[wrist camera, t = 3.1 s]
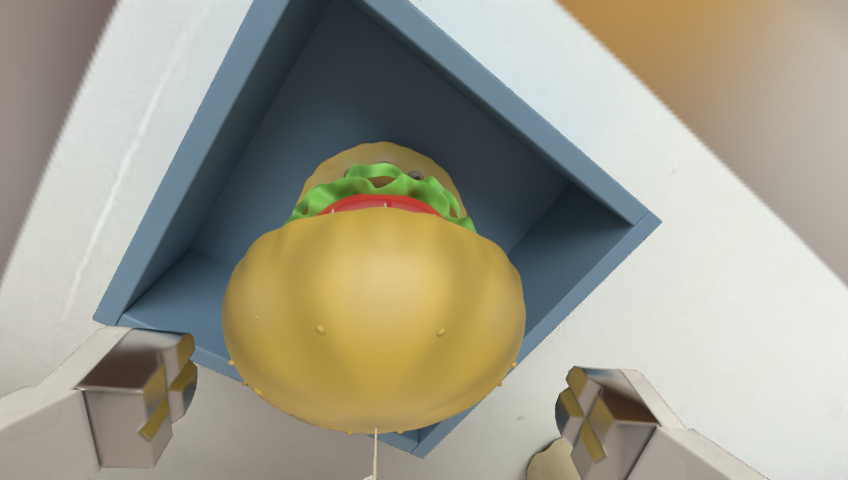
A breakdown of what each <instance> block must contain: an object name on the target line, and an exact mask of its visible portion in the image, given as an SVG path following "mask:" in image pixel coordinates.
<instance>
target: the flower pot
mask: <svg viewBox="0 0 848 480" xmlns="http://www.w3.org/2000/svg"><path fill="white" fill-rule="evenodd" d="M571 450H572V446H571V445H570V444H569V443H568V442H567V441H566V440H564V439H563V438H560V439H557V440H555V441H554V442H553V443H552V445H551V446H550V447H549V448H548V449H547V450H546V451H544V452H541V453H537V454H536V455H535V456H534V457H533V459H532V460H531V462H530V464H529V467H528V471H527V479H528V480H581V478H580V476H579V474H578V472H577V469H576V467H575V465H574V463H573V461H572V459H571V456H570V454H571Z"/></svg>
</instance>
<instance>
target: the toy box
mask: <svg viewBox="0 0 848 480" xmlns="http://www.w3.org/2000/svg"><path fill="white" fill-rule="evenodd" d="M382 141H389V142H393V143H395V144H397V145H400V146H404V147H408V148H410V149H412V150H414V151H416V152H418V153H420V154H422V155H426V156H429V157H430V158H432V159H433V160H434V162H435V163H436V164H437V165H439V166H440V167H442V168H443V169H444V170H446V171H447V173H448V174H449V175H450V177H451V179H452V181H453V184H454V186H455V187H456V188H457V190H458V192H459V195H460V198H461V201H462V204H463V206H464V208H465V209H466V211H467V216H469V217H470V218H471V220H472V223H473V225H474V228H475V230H476V232H477V234H478V235H480V236H482V237H484V238H486V239H489V240H491V241H492V242H494V243H496V244H497V245H498V246H500V247H501V248H502V249H503V250H504V252H505V253H506V255H507V257H508V259H509V261H510V262H511V263H512V264H513V265H514V267H515V268H516V269H517V271H518V273H519V275H520V278H521V283H522V288H523V299H524V303H525V308H526V320H525V331H524V336H523V340H522V343H521V346H520V349H519V352H518V355H517V357H516V360H515V362H516V363H517V365H518V364H519V363H520V362H521V361H522V360H523V359H524V358H525V357H526V356H527V355H528V354H529V353H530V352H531V351H532V350H533V349H534V348H535V347H536V346H537V345H538V344H540V343H541V342H542V341H543V340H544V339H545V338H546V337H547V336H548V335H549V334H550V333H551V332H552V331H553V330H554V329H555V328H556V327H557V326H558V325H559V324H560V323H561V322H562V321H563V320H564V319H565V318H566V317H567V316H568V315H569V314H570V313H571V312H572V311H573V310H574V309H575V308H576V307H577V306H578V305H579V304H580V303H581V302H582V301H583V300H584V299H585V298H586V297H587V296H588V295H589V294H590V293H591V292H592V291H593V290H594V289H595V288H596V287H597V286H598V285H599V284H600V283H601V282H602V281H603V280H604V279H605V278H606V277H607V276H608V275H609V274H610V273H611V272H612V271H613V270H614V269H615V268H616V267H617V266H618V265H619V264H620V263H621V262H623V261H624V260H625V259H626V258H627V257H628V256H629V255H630V254H631V253H632V252H633V251H634V250H635V249H636V248H637V247H638V246H639V245H640V244H641V243H642V242H643V241H644V240H645V239H646V238H647V237H648V236H649V235H650V234H651V233H652V232H653V231H654V230H655V229H656V228H657V227H658V226H659V225H660V224H661V223H662V221H661V220H660V219H659V218H658V217H657V216H656V215H654V214H653V213H652V212H651V211H649V210H648V209H647V208H646V207H645V206H644V205H643V204H642V203H640V202H639V201H638V200H637V199H636V198H635V197H634V196H632V195H631V194H630V193H629V192H628V191H627V190H626V189H624V188H623V187H622V186H621V185H620V184H619V183H617V182H616V181H615V180H614V179H613V178H612V177H611V176H609V175H608V174H607V173H606V172H605V171H604V170H603V169H601V168H600V167H599V166H598V165H597V164H596V163H594V162H593V161H592V160H591V159H590V158H589V157H588V156H586V155H585V154H584V153H583V152H582V151H581V150H580V149H578V148H577V147H576V146H575V145H574V144H573V143H571V142H570V141H569V140H568V139H567V138H566V137H565V136H563V135H562V134H561V133H560V132H559V131H558V130H557V129H555V128H554V127H553V126H552V125H551V124H550V123H548V122H547V121H546V120H545V119H544V118H543V117H542V116H540V115H539V114H538V113H537V112H536V111H535V110H534V109H532V108H531V107H530V106H529V105H528V104H527V103H525V102H524V101H523V100H522V99H521V98H520V97H519V96H517V95H516V94H515V93H514V92H513V91H512V90H511V89H509V88H508V87H507V86H506V85H505V84H504V83H502V82H501V81H500V80H499V79H498V78H497V77H496V76H494V75H493V74H492V73H491V72H490V71H489V70H487V69H486V68H485V67H484V66H483V65H482V64H481V63H479V62H478V61H477V60H476V59H475V58H474V57H473V56H471V55H470V54H469V53H468V52H467V51H466V50H464V49H463V48H462V47H461V46H460V45H459V44H458V43H456V42H455V41H454V40H453V39H452V38H451V37H450V36H448V35H447V34H446V33H445V32H444V31H443V30H441V29H440V28H439V27H438V26H437V25H436V24H435V23H433V22H432V21H431V20H430V19H429V18H428V17H427V16H425V15H424V14H423V13H422V12H421V11H420V10H418V9H417V8H416V7H415V6H414V5H413V4H412V3H410V2H409V1H408V0H254V1H253V3H252V5H251V7H250V9H249V10H248V12H247V14H246V16H245V18H244V20H243V22H242V24H241V26H240V28H239V30H238V32H237V34H236V36H235V38H234V40H233V42H232V44H231V46H230V48H229V50H228V52H227V54H226V56H225V58H224V60H223V62H222V64H221V66H220V68H219V70H218V72H217V74H216V75H215V77H214V79H213V81H212V83H211V85H210V87H209V89H208V91H207V93H206V95H205V97H204V99H203V101H202V103H201V105H200V107H199V109H198V111H197V113H196V115H195V117H194V119H193V121H192V123H191V125H190V127H189V129H188V131H187V133H186V135H185V137H184V139H183V140H182V142H181V144H180V146H179V148H178V150H177V152H176V154H175V156H174V158H173V160H172V162H171V164H170V166H169V168H168V170H167V172H166V174H165V176H164V178H163V180H162V182H161V184H160V186H159V188H158V190H157V192H156V194H155V196H154V198H153V200H152V202H151V204H150V205H149V207H148V209H147V211H146V213H145V215H144V217H143V219H142V221H141V223H140V225H139V227H138V229H137V231H136V233H135V235H134V237H133V239H132V241H131V243H130V245H129V247H128V249H127V251H126V253H125V255H124V257H123V259H122V261H121V263H120V265H119V267H118V269H117V270H116V272H115V274H114V276H113V278H112V280H111V282H110V284H109V286H108V288H107V290H106V292H105V294H104V296H103V298H102V300H101V302H100V304H99V306H98V308H97V310H96V312H95V314H94V316H93V320H95V321H97V322H100V323H102V324H104V325H114V326H123V327H133V328H146V329H156V330H165V331H174V332H184V333H190V334H191V335H193V336H194V341H195V349H196V350H195V351H194V353H193V354H192V356H191V357H190V360H191V361H193V362H195V363H197V364H200V365H202V366H204V367H207V368H209V369H212V370H214V371H216V372H219V373H221V374H223V375H226V376H228V377H231V378H233V379H235V380H238V381H240V382H243V381H244V379H243V378H242V377H241V375H240V374H239V372H238V371H237V369H236V368H235V366H234V365H229V363H228V362H229V360H231V357H230V355H229V352H228V350H227V347H226V344H225V340H224V336H223V329H222V302H223V298H224V295H225V291H226V288H227V286H228V284H229V281H230V278H231V275H232V273H233V271H234V269H235V267H236V265H237V264H238V263H239V262H240V260H241V259H242V258H243V257H244V256H245V255H246V253H247V251H248V249H249V248H250V246H251V245H252V244H253V243H254V242H255V241H256V240H257V239H258V238H259V237H260V236H262V235H263V234H265V233H267V232H270V231H273V230H276V229H279V228H281V227H282V226H283V225H284V224H285V223H286V222H287V220H288V219H289V218H290V217H291V216H292V212H293V209H294V208H295V206H296V203H297V201H298V199H299V197H300V195H301V193H302V190H303V187H304V183H305V181H306V180H307V179H308V178H309V177H310V176H312V174H313V173H314V171H315V170H316V168H317V167H318V166H319V164H321V163H322V162H323V161H325V160H326V159H328V158H331V157H333V156H335V155H336V154H338V153H339V152H341V151H345V150H348V149H351V148H354V147H356V146H358V145H359V144H361V143H371V144H372V143H377V142H382ZM514 368H515V367H511V369H510V370H509V372H508V373H507V374H506V376H507V375H508V374H509V373H510V372H511V371H512V370H513V369H514ZM506 376H505V377H506ZM505 377H504V378H505ZM504 378H503V379H504ZM503 379H502V380H503ZM502 380H501V381H502ZM484 398H485V397H484ZM484 398H483V399H484ZM483 399H482V400H483ZM482 400H481V401H482ZM481 401H479V402H478V403H476V404H475V405H473V406H472V407H470V408H468V409H467V410H465V411H463V412H461V413H459V414H456V415H454V416H452V417H450V418H448V419H446V420H443V421H441V422H438V423H435V424H432V425H429V426H426V427H423V428H419V429H415V430H409V431H404V432H403V433H401V434H399V433H397V431H395V432H388V433H381V434H377V440H380V441H382V442H385V443H387V444H389V445H392V446H394V447H396V448H399V449H401V450H404V451H406V452H408V453H409V452H410V453H411V454H412V455H415V456H417V457H419V458H422V459H423V458H424V457H425V456H426V455H427V454H428V453H429V452H430V451H431V450H432V449H433V448H434V447H435V446H436V445H437V444H438V443H439V442H440V441H441V440H442V439H443V438H444V437H445V436H446V435H447V434H448V433H449V432H450V431H451V430H452V429H453V428H454V427H455V426H457V425H458V424H459V423H460V422H461V421H462V420H463V419H464V418H465V417H466V416H467V415H468V414H469V413H470V412H471V411H472V410H473V409H474V408H475V407H476V406H477V405H478V404H479V403H480V402H481ZM363 434H364V433H363ZM366 435H368V436H370V437H373V438H374V437H375V434H366Z"/></svg>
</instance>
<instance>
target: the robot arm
mask: <svg viewBox="0 0 848 480" xmlns="http://www.w3.org/2000/svg"><path fill="white" fill-rule="evenodd" d="M195 350H196V349H195V341H194V336H193V335H191V334H190V333H184V332H174V331H165V330H156V329H146V328H133V327H123V326H114V325H107V326H104V327H101V328H100V329H98V330H97V331H96V332H95V333H94V334H93V335H92V336H91V337H90V338H88V339H87V340H86V341H85V342H84V343H83V344H82V345H81V346H80V347H79V348H78V349H76V350H75V351H74V352H73V353H72V354H71V355H70V356H69V357H68V358H67V359H66V360H65V361H63V362H62V363H61V364H60V365H59V366H58V367H57V368H56V369H55V370H54V371H53V372H51V373H50V374H49V375H48V376H47V377H46V378H45V379H44V380H43V381H42V382H41V383H39V384H38V385H37V386H36V387H23V388H21V389H19V390H16V391H14V392H12V393H9V394H7V395H5V396H2V397H0V480H89V479H90V478H91V477H93V476H94V475H95V474H96V473H98V472H99V471H100V468H154V467H155V465H156V463H157V462H158V460H159V458H160V456H161V455H162V453H163V451H164V450H165V448H166V446H167V444H168V443H169V441H170V439H171V438H172V436H173V434H172V425H171V424H172V423H174V422H175V421H177V420H178V419H180V418H181V417H183V416H184V415H185V413H186V411H187V410H188V408H189V406H190V404H191V402H192V399H193V396H194V393H195V390H196V385H197V367H196V366H195V364H194V363H193V362H192V361H191V360H190V357H191V356H192V354H193V353H194V351H195ZM566 381H567V384H568V386H569V387H568V388H567V389H565V390H564V391H563V392H561V393H560V394H559V397H558V399H557V402H556V405H555V418H556V423H557V427H558V430H559V432H560V434H561V437H562V438H563V439H564V440H566V441H567V442H568V443H569V444H570V445H571V446H572V450H571V454H570V456H571V459H572V461H573V463H574V465H575V467H576V469H577V472H578V474H579V476H580V478H581V480H769V479H768V478H766V477H765V476H763V475H762V474H760V473H759V472H757V471H756V470H754V469H753V468H751V467H750V466H748V465H747V464H745V463H744V462H742V461H741V460H739V459H738V458H736V457H735V456H733V455H732V454H730V453H729V452H727V451H726V450H724V449H723V448H721V447H720V446H718V445H717V444H715V443H714V442H712V441H711V440H709V439H708V438H706V437H705V436H703V435H702V434H700V433H699V432H697V431H695V430H694V429H687V428H686V427H685V426H684V425H683V423H682V422H681V421H680V420H679V418H678V417H677V416H676V415H675V413H674V412H673V411H672V410H671V408H670V407H669V406H668V405H667V403H666V402H665V401H664V400H663V399H662V397H661V396H660V395H659V394H658V392H657V391H656V390H655V389H654V387H653V386H652V385H651V384H650V382H649V381H648V380H647V379H646V377H645V376H644V375H643V374H642V373H640V372H638V371H637V370H628V369H606V368H594V367H581V366H574V367H573V368H572V369H571V370H569V373H568V375H567V377H566Z"/></svg>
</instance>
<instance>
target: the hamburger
mask: <svg viewBox="0 0 848 480" xmlns="http://www.w3.org/2000/svg"><path fill="white" fill-rule="evenodd" d="M525 320H526V308H525V303H524V299H523V288H522V283H521V278H520V275H519V273H518V271H517V269H516V268H515V267H514V265H513V264H512V263H511V262H510V261H509V259H508V257H507V255H506V253H505V252H504V250H503V249H502V248H501V247H500V246H498V245H497V244H496V243H494V242H492V241H491V240H489V239H486V238H484V237H482V236H480V235H478V234H477V232H476V230H475V228H474V225H473V223H472V220H471V218H470V217H469V216H467V211H466V209H465V208H464V206H463V204H462V201H461V198H460V195H459V192H458V190H457V188H456V187H455V186H454V184H453V181H452V179H451V177H450V175H449V174H448V173H447V171H446V170H444V169H443V168H442V167H440V166H439V165H437V164H436V163H435V162H434V160H433V159H432V158H430V157H429V156H426V155H422V154H420V153H418V152H416V151H414V150H412V149H410V148H408V147H404V146H400V145H397V144H395V143H393V142H389V141H382V142H377V143H372V144H371V143H361V144H359V145H358V146H356V147H354V148H351V149H348V150H345V151H341V152H339V153H338V154H336V155H335V156H333V157H331V158H328V159H326V160H325V161H323V162H322V163H321V164H319V166H318V167H317V168H316V170H315V171H314V173H313V174H312V176H310V177H309V178H308V179H307V180H306V181H305V183H304V187H303V190H302V193H301V195H300V197H299V199H298V201H297V203H296V206H295V208H294V209H293V212H292V216H291V217H290V218H289V219H288V220H287V222H286V223H285V224H284V225H283V226H282V227H281V228H279V229H276V230H273V231H270V232H267V233H265V234H263V235H262V236H260V237H259V238H258V239H257V240H256V241H255V242H254V243H253V244H252V245H251V246H250V248H249V249H248V251H247V253H246V255H245V256H244V257H243V258H242V259H241V260H240V262H239V263H238V264H237V265H236V267H235V269H234V271H233V273H232V275H231V278H230V281H229V284H228V286H227V288H226V291H225V295H224V298H223V302H222V329H223V336H224V340H225V344H226V347H227V350H228V352H229V355H230V357H231V360H229V362H228V363H229V365H234V366H235V368H236V369H237V371H238V372H239V374H240V375H241V377H242V378H243V379H244V381H243V382H242V385H243V386H247V385H249V386H250V387H251V388H252V389H253V390H254V392H255V393H256V394H258V395H259V396H260V397H262V398H263V399H264V400H265V401H267V402H268V403H269V404H271V405H272V406H274V407H276V408H277V409H279V410H281V411H283V412H285V413H287V414H289V415H291V416H292V417H294V418H297V419H299V420H301V421H303V422H306V423H309V424H312V425H315V426H318V427H322V428H326V429H330V430H336V431H346V432H347V434H352V433H353V432H356V433H364V434H375V437H374V455H373V473H372V475H371V476H369V477H367V478H365V479H363V480H376V479H377V434H381V433H388V432H395V431H397V433H399V434H401V433H403V432H404V431H409V430H415V429H419V428H423V427H426V426H429V425H432V424H435V423H438V422H441V421H443V420H446V419H448V418H450V417H452V416H454V415H456V414H459V413H461V412H463V411H465V410H467V409H468V408H470V407H472V406H473V405H475V404H476V403H478V402H479V401H481V400H482V399H483V398H484V397H486V396H487V395H488V394H489V393H490V392H491V391H492V390H493V389H494V388H495V387H496V386H502V382H501V380H502V379H503V378H504V377H505V376H506V374H507V373H508V372H509V370H510V369H511V367H516V366H517V363H516V362H515V360H516V357H517V355H518V352H519V349H520V346H521V343H522V340H523V336H524V331H525Z"/></svg>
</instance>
